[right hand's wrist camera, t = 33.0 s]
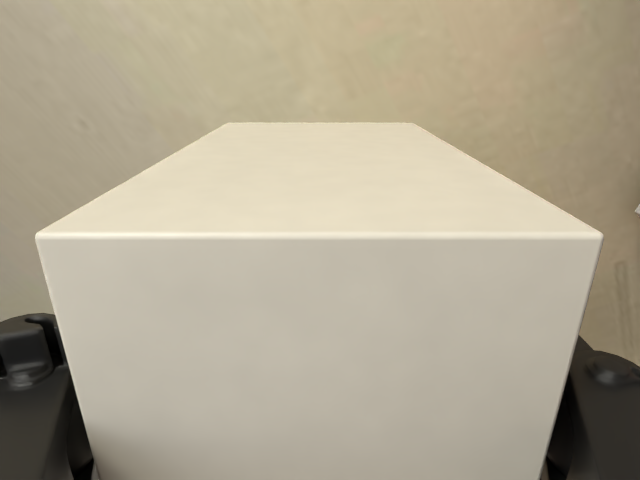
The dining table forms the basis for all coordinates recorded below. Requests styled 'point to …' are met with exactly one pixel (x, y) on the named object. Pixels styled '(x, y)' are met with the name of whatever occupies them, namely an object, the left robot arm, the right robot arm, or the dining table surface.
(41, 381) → the right robot arm
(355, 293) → the block
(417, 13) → the dining table surface
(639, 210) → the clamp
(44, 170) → the dining table surface
